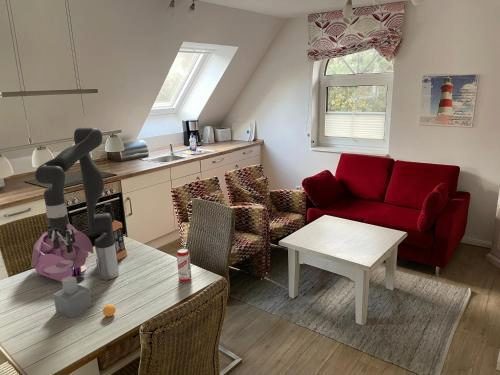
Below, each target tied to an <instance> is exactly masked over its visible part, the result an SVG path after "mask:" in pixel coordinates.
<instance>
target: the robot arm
mask: <svg viewBox="0 0 500 375" xmlns="http://www.w3.org/2000/svg"><path fill="white" fill-rule="evenodd" d="M73 139H74V140H73V141H74V145H72V146H69V147H67V148H65V149H64V150H62V151H61V152H60V153H58V154H57V155H56V156H55V157H54V158H52V159H50V160H48V161H46V162H44V163H42V164H40V165H39V166H38V167H37V168H36V169H35V172H34V177H35V180H36V181H37V182H38V183H40V184H43V185H44V184H45V185H46V184H47V185H48V184H49V185H50V184H51V188H48V189H46V190H45V191H44V192H43V199H44V205H45V213H46V218H47V222H48V224H47V225H46V230H47V231H46V232H48V238H49V239H51V240H52V241H53V245H54V249H58V248H60V244H59V240H58V238H61V239H62V241H64V242H65V244H66V248H67V253H71V252H73V247H72V244H73V243H75V237H74V232H73V229H70V230H69V229H68V228H67V225H68V223H69V222H70V220H69V215H68V213H69V212H68V208H67V205H66V200H65V195H64V190H65V181H66V180H65V179H66V173H67V171H69V170H70V169H71V168H73V166H74V165H75V164H76V163H77V162H78V161H79V167H80V172H81V181H82V187H83V188H82V189H83V192H84V198H85V204H86V211H87V212H86V213H87V223H88V229H89V232H90V233H91V234H92V235H93V234H101V233H103V232H106V233H105V234H104V235H103V236H101V235H100V236H99V237H98V238H96V239H95V240H94V247H95V253H96V267H97V274H98V276H99V279H101V280H105V281H107V280H108V281H109V280H113V279H115V278H116V277H118V276H119V274H120V273H119V272H120V271H119V266H118V265H119V264H118V261H117V256H116V249H115V242H114V236H113V225H112V217H111V215H110V214H109V213H105V212H104V213H97V214H95V210H96V207H97V204H98V202H99V200H100V198H101V196H102V194H103V193H104V191H105V184H104V183H105V182H104V176H103V173H102V171H101V169H100V168H99V167H98V165H97V164H96V163H95V162H94V160H93V158H92V157H91V153H90V152H92V151H94V150H95V149H97V148H98V147H100V146H101V145H102V143H103V133H102V132H101V130H100V129H99V128H97V127H77V128H76V129H75V131H74V133H73ZM65 172H66V173H65ZM69 224H70V223H69ZM51 233H52V235H51ZM66 236H67V237H66ZM64 237H66V238H64ZM71 238H72V239H71ZM67 239H68V242H67Z"/></svg>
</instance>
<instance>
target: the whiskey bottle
mask: <svg viewBox="0 0 500 375" xmlns="http://www.w3.org/2000/svg"><path fill="white" fill-rule="evenodd" d="M103 206H104V211H105V212H104V213H109V214H110V215H111V217H112V225H113V236H114V242H115V249H116V256H117V262H119V261H121V260H122V259H123V258H126V257H127V256H128V253H127V249H126V247H125V240H124V234H123V233H124V232H123V223H122V222H121V221H118V220H115V215H114V212H113V207H112V203H111V202H107V203H106V202H105V203H104V204H103ZM105 233H106V232H103V233H100V237H101V236H103V235H104V234H105Z"/></svg>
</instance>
